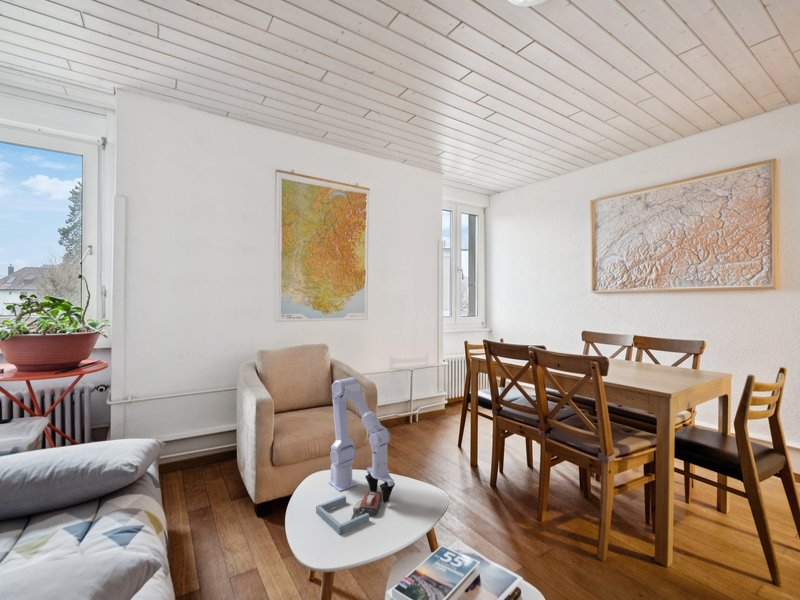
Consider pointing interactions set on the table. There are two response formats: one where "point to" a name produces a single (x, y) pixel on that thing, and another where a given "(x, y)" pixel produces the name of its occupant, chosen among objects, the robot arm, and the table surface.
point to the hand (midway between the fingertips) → (379, 497)
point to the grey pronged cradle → (333, 523)
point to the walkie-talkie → (368, 504)
